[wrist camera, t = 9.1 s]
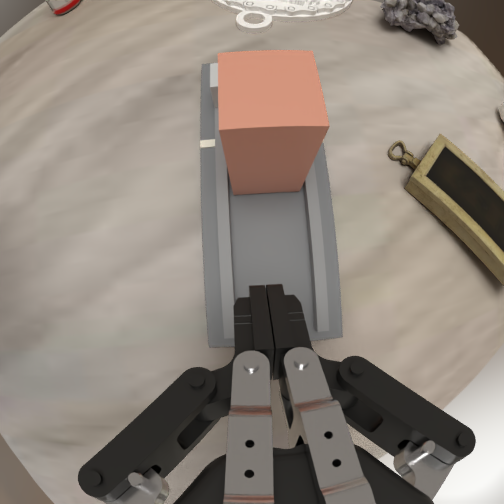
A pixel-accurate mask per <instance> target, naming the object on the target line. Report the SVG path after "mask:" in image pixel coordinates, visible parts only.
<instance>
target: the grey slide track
mask: <svg viewBox="0 0 504 504" xmlns="http://www.w3.org/2000/svg"><path fill="white" fill-rule="evenodd" d="M323 142H324V141H323ZM323 142H322V144H321V146H320V148H319V150H318V153H317V155H316V157H315V159H314V161H313V164H312V166H311V168H310V170H309V172H308V175H307V177H306V179H305V181H304V183H303V185H302V188H301V190H300V191H298V192H276V193H258V194H242V195H233V191H232V186H231V182H230V177H229V173H228V168H227V164H226V160H225V155H224V151H223V146H222V142H221V137H220V133H219V112H218V63H209V64H202V76H201V140H200V148H201V212H202V242H203V264H204V284H205V300H206V316H207V330H208V343H209V347H234V346H235V342H234V310H233V306H234V304H235V302H236V300H237V298H240V297H249V286H250V285H265V288H266V285H269V284H282V285H283V289H284V294H285V295H295V296H296V297H297V298H298V300H299V301H300V302H301V305H302V309H303V313H304V317H305V321H306V325H307V329H308V333H309V337H310V341H314V340H323V339H332V338H340V337H343V334H342V311H341V293H340V279H339V266H338V254H337V243H336V233H335V224H334V215H333V207H332V199H331V191H330V183H329V176H328V169H327V163H326V156H325V150H324V144H323Z"/></svg>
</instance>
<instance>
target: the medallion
mask: <svg viewBox="0 0 504 504" xmlns="http://www.w3.org/2000/svg"><path fill="white" fill-rule="evenodd" d="M211 1H212V2H213V3H215V4H216V5H218V6H220V7H221V8H223V9H226V10H228V11H230V12H233V13H236V14H238V15H237V17H236V24H237V27H238V28H239V29H240V30H241V31H243V32H246V33H252V34H256V33H262V32H265V31H267V30H269V29H270V28H271V26H272V21H280V22H308V21H318V20H323V19H328V18H331V17H334V16H337V15H339V14H341V13H343V12H345V11H346V10H347V9H348V8H349V7H350V5H351V2H352V0H211ZM249 18H255V19H262V20H263V22H262V23H259V24H250V23H247V22H245V20H247V19H249Z"/></svg>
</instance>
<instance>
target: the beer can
mask: <svg viewBox="0 0 504 504" xmlns="http://www.w3.org/2000/svg"><path fill="white" fill-rule="evenodd" d="M46 2H47V3H48V5H49V6H50V8H51V9H52V11H53V12H54V14H58V15H59V14H60V15H62V14H65V13H67V12H69V11H71V10H72V9H74V8H75V7H76V6H77V5H78V4H79V2H80V0H46Z"/></svg>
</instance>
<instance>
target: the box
mask: <svg viewBox="0 0 504 504" xmlns="http://www.w3.org/2000/svg"><path fill="white" fill-rule="evenodd" d="M398 145H400V146H401V147H402V148H403V153H404V155H403V156H395V155H393V154H392V151H393V149H394V148H395V147H396V146H398ZM388 156H389V157H390V158H391V159H393V160H400V161H401V162H402V164H404V165H410V166H411V167H412V168H414V169H415V171H414V173H413V174H412V176H411V177H410V181H409V182H408V184H407V185H406V187H405V189H406V190H407V191H408V192H409V193H410V194H412V195H413V196H414V197H415V198H416V199H417V200H419V201H420V202H421V203H422V204H423V205H424V206H426V207H427V208H428V209H429V210H430V211H431V212H432V213H434V214H435V215H436V216H437V217H438V218H439V219H440V220H441V221H442V222H443V223H444V224H445V225H446V226H447V227H449V228H450V229H451V230H452V231H453V232H454V233H455V234H456V235H457V236H458V237H459V238H460V239H461V240H462V241H463V242H464V243H465V244H466V245H467V246H468V247H469V248H470V249H471V250H472V251H473V252H474V253H475V255H476V256H477V257H478V258H479V259H480V260H481V261H482V262H483V263H484V264H485V265H486V266H487V268H488V269H489V270H490V271H491V272H492V273H493V274H494V275H495V276H496V277H497V279H498V280H499V281H500V282H501V283H502V284H503V285H504V191H503V190H502V189H501V188H500V187H499V186H498V185H497V184H496V183H495V182H494V181H493V180H492V179H491V178H490V177H489V176H488V175H487V174H486V173H485V172H484V171H483V170H482V169H481V168H480V167H479V166H478V165H477V164H475V163H474V162H473V161H472V160H471V159H470V158H469V157H468V156H467V155H465V154H464V153H463V152H462V151H461V150H460V149H459V148H457V147H456V146H455V145H454V144H453V143H452V142H450V141H449V140H448V139H447V138H446V137H444V136H443V135H442V134H439V136H438V137H437V139H436V140H435V141H434V143H433V144H432V146H431V147H430V149H429V150H428V152H427V153H426V155H425V156H424V158H423V159H422V161H420V160H419V159H417V158H413V154H412V153H411V152H410V151H407V150H406V147H405V144H404V143H403V142H402V141H400V140H399V141H397V142H395V143H394V144H393V145H392V146H391V148H390V150H389V153H388Z"/></svg>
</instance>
